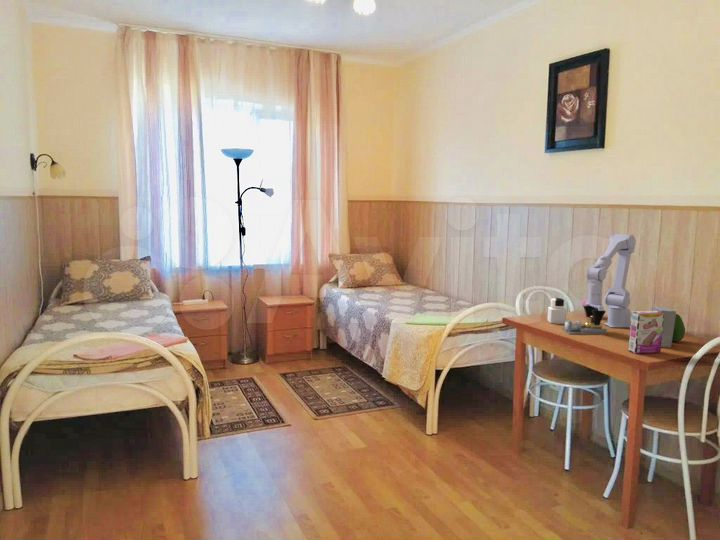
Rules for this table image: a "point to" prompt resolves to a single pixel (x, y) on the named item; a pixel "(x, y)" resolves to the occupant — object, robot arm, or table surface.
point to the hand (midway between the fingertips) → (593, 323)
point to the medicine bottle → (557, 311)
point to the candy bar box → (646, 332)
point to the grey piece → (580, 328)
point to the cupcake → (584, 304)
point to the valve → (591, 324)
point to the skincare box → (666, 324)
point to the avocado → (678, 329)
